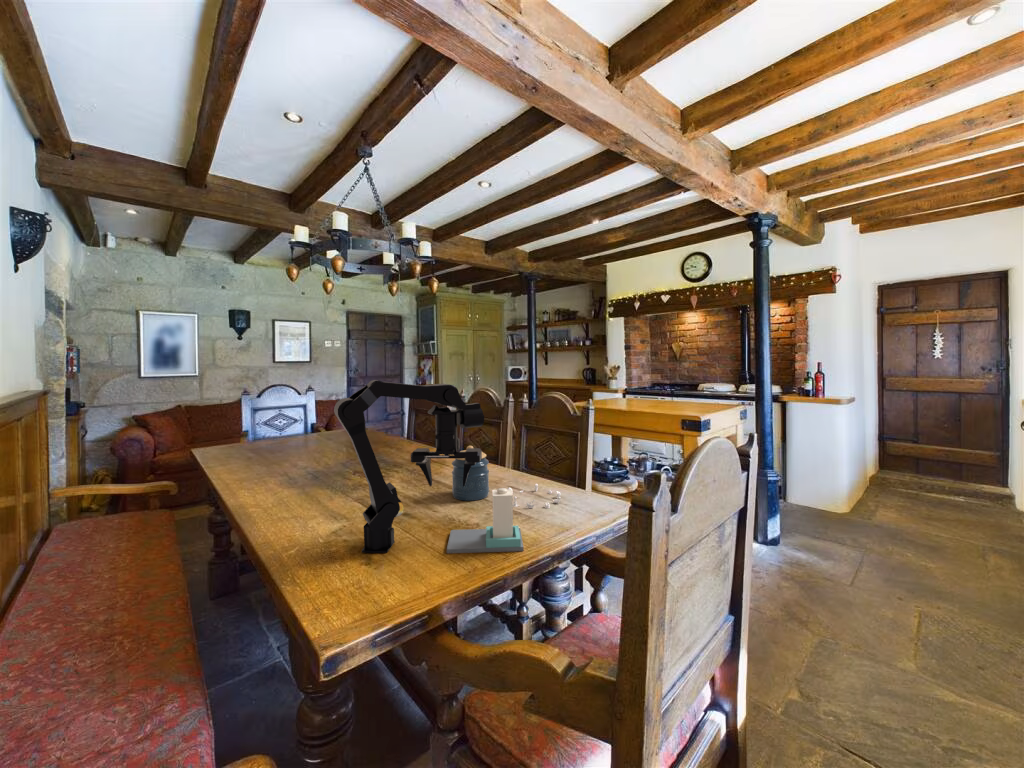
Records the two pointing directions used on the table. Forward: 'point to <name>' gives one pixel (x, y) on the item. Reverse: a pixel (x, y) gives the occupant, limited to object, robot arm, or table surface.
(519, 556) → the table surface
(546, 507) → the game piece set
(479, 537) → the baseplate
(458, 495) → the canister
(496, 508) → the column
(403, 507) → the bread roll
